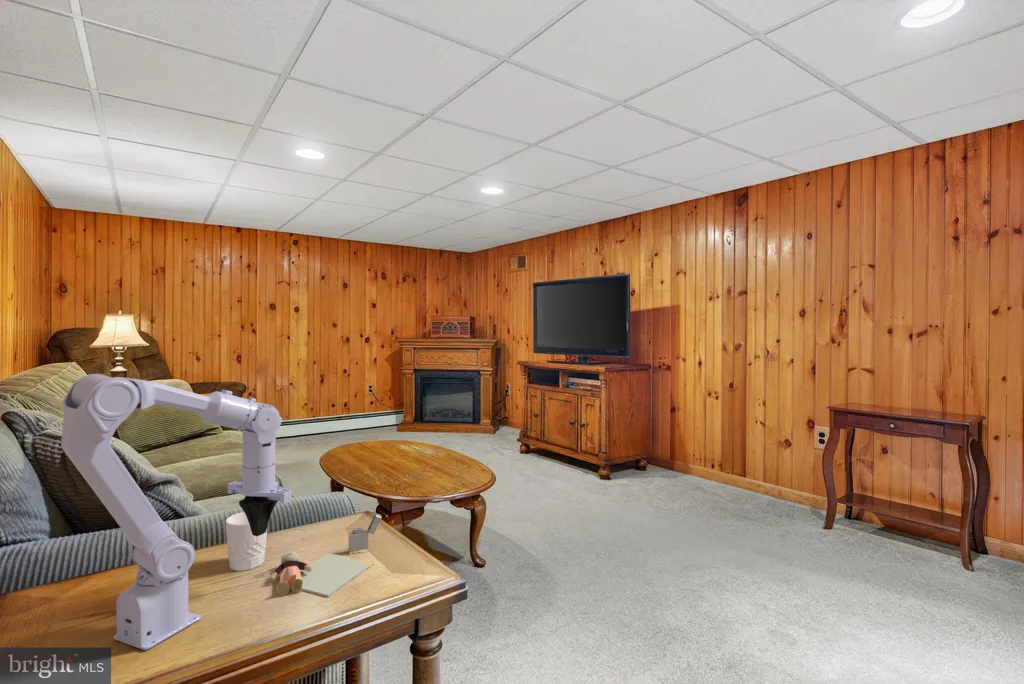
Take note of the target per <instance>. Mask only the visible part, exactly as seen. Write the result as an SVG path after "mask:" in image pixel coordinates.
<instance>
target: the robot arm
mask: <svg viewBox="0 0 1024 684" xmlns="http://www.w3.org/2000/svg"><path fill="white" fill-rule="evenodd" d="M153 405H158V406H163V407H167V408H173V409H177V410H183V411H188V412H193V413H197V414H199V416H200V418H201V420H202V421H203V422H204V423H206V424H212V425H216V426H221V427H225V428H231V429H235V430H241V431H242V451H241V452H242V481H238V480H235V481H232V482H230V483H227V494H231V495H233V494H238V495H243V496H245V497H244V498H243V499H240V500H239V501H238V502H239V503H238V505H239V507H240V508H241V510H242V511H243V512H244V513H245V514H246V517H247V519H248V522H249V525H250V528H251V532H252V535H254V536H260V535H262V534H264V533H266V530H267V531H268V524H269V521H270V519H271V515H272V513H273V512H274V509H275V507H276V505H277V503H278V502H279V503H280V504H282V505H283V504H286V503H289V502H291V501H292V500H293V490H291V489H287V488H285V487H282V486H280V485H279V481H276V439H277V432H278V430H279V428H280V427H281V425H282V423H283V417H282V416H280V415H281V414H280V412H279V410H278V409H277V408H276V406H274V405H272V404H268V403H262V402H258V401H257V399H256V398H254V397H248V398H245V397H239V396H236V395H233V392H232V391H231V390H227V389H222V390H221V391H217V390H216V391H212V392H211V393H209V394H207V395H203V394H198V393H197V392H192V391H188V390H185V389H181V388H178V387H175V386H170V385H167V384H163V383H160V382H155V381H152V380H151V381H150V380H146V379H137V378H131V377H130V378H129V377H122V376H121V377H120V376H114V377H111V376H109V375H105V374H103V373H102V374H101V373H90V374H86V375H83V376H81V377H80V378H78V379H77V380H75V382H74V383H72V385H71V386H70V388H69V390H68V392H67V393H66V395H65V396H64V398H63V400H62V407H63V408H62V409H63V419H62V430H61V432H62V433H61V441H60V444H61V448H62V450H63V452H64V453H65V454H66V456H67V457H68V459H69V460H70V461H71V463H72V464H73V465H74V467H75V468H76V470H77V471H78V472H79V473H80V474H81V476H82V477H83V479H84V480H85V482H86V483H87V484H88V485H89V487H90V488H91V490H92V491H93V493H95V495H96V496H97V498H98V499H99V500H100V502H101V503H102V504H103V506H104V507H105V508H106V510H107V511H108V512H109V514H110V515H111V516H112V518H113V519H114V521H115V522H116V523H117V525H118V526H119V527H120V528H121V530H122V531H123V533H124V535H125V540H126V541H127V543H128V544H129V546H130V558H131V561H132V562H133V563H134V564H135V565H138V570H137V573H136V577H135V578H136V579H135V581H134V583H133V584H132V585H131V586H129V587H128V588H127V589H124V591H122V592H120V593H119V595H118V596H117V598H116V602H115V603H116V604H115V605H116V606H115V609H116V610H115V611H116V634H114V635H113V639H114V640H116V641H118V642H121V643H124V644H126V645H129V646H132V647H135V648H138V649H141V650H143V651H147V650H149V649H151V648H153V647H155V646H156V645H158V644H160V643H161V642H163V641H165V640H166V639H168V638H170V637H173V635H176V634H177V633H179V632H180V631H182V630H184V629H186V628H188V627H190V626H191V625H192V624H195V623H196V622H198V621H200V620H201V619H202V615H200V614H197V613H193V612H190V610H189V570H190V568H191V567H192V565H193V563H194V561H195V557H196V554H195V548H194V547H193V545H192V544H191V543H190V542H187V541H185V540H182V539H181V538H179V536H177V534H176V533H175V532H174V531H173V530H172V529H171V527H170V526H168V524H166V523H165V521H163V519H162V518H161V517H160V514H159V513H158V512H157V511H156V510H155V508H154V506H153V505H152V504H151V502H150V501H149V499H148V498H147V496H146V495H145V494H144V492H143V491H142V489H141V488H140V487H139V485H138V484H137V482H136V481H135V479H134V478H133V477H132V475H131V474H130V472H129V471H128V468H126V467H125V465H124V464H123V462H122V461H121V459H120V458H119V456H118V455H117V453H116V452H115V451H114V449H113V448H112V446H111V444H110V442H111V441H112V438H113V435H114V434H115V432H116V430H117V428H118V427H119V426H120V425H121V424H123V422H124V421H126V420H127V418H128V417H129V416H130V415H131V414H132V413H133V412H134V410H135V409H137V410H140V411H142V410H145V409H147V408H150V407H152V406H153Z"/></svg>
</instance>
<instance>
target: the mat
mask: <svg viewBox="0 0 1024 684" xmlns="http://www.w3.org/2000/svg"><path fill="white" fill-rule="evenodd" d="M350 558H351V557H350V556H349V557H348V556H346V555H345V556H344V555H340V554H335V553H331V552H327V553H326V554H325V555H323V556H321V557H320V558H318V559H317V560H314V561H313V562H311V563H309V564H308V565H309V566H311V567H312V570H311V571H310V572H307V571H306V570H300V574H301V580H302V581H303V584H302V589H301V591H303V592H307V593H311V594H314V595H318V596H322V597H326V598H329V597H330V596H332V595H333V594H335V593H336V592H337V591H339V590H340V589H342V588H343V587H344V586H346V585H347V584H348V582H349V583H350V582H351V581H353V580H354V579H356V578H357V577H358V576H360V575H361V574H362V573H361V572H363V571H364V570H365V569H366V568H367V567H369V565H368V566H367V564H368V563H360V562H359V563H358V562H356V561H357V560H356V561H355V560H354V561H355V562H354V561H353V560H352V559H350ZM365 565H366V566H365ZM365 571H366V570H365ZM365 571H364V572H365ZM364 572H363V573H364ZM360 573H361V574H360ZM359 574H360V575H359ZM356 576H357V577H356ZM355 577H356V578H355ZM353 578H354V579H353ZM352 579H353V580H352ZM279 583H280V581H279V582H278V584H279ZM346 583H347V584H346ZM345 584H346V585H345ZM341 587H342V588H341Z"/></svg>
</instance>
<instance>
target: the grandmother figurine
mask: <svg viewBox="0 0 1024 684" xmlns="http://www.w3.org/2000/svg"><path fill="white" fill-rule="evenodd" d="M300 570H306V571H307V572H310V571H311V570H312V567H311V566H309V564H308V563H306V562H303V561H299V556H298V554H297V553H296V552H294V551H293V550H290V551H288V552H285V553H284V554H282V556H281V558H280V565H278V566H277V568H276V569H274V571H273V572H272V573H271V575H270V576H269V578H268V579H269V581H270V582H274V581H275V579H276V578H277V577H278V576H279V582H280V583H279V582H278V584H277V586H276V589H277V592H278V593H279V595H280V596H281V597H285V596H287V595H288V594H289V592H290V590H291V591H292V593H293V594H298V593H300V592H301V591H302V590H301V589H302V584H303V581H302V580H301V574H300Z"/></svg>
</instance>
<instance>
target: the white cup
mask: <svg viewBox="0 0 1024 684" xmlns="http://www.w3.org/2000/svg"><path fill="white" fill-rule="evenodd" d="M225 529H226V532H225V533H226V545H227V546H226V547H227V554H228V555H227V556H228V567H229V569H230V570H232V571H237V572H243V571H249V570H253V569H256V568H258V567H260V566H262V565H263V564H264V563H265V561H264V560H266V547H267V537H268V529H267V530H266V533H264V534H262V535H260V536H254V535H252V532H251V528H250V525H249V522H248V519H247V517H246V514H245V513H244V511H243V512H238V513H234V514H233V515H231V516H229V517H227V518H226V520H225ZM263 562H264V563H263ZM262 563H263V564H262ZM259 565H260V566H259ZM257 566H258V567H257ZM255 567H256V568H255Z"/></svg>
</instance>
